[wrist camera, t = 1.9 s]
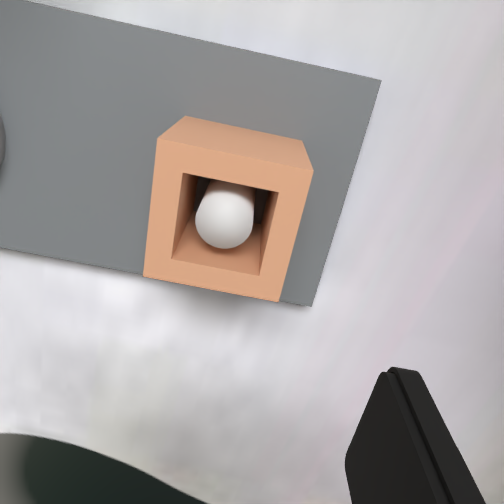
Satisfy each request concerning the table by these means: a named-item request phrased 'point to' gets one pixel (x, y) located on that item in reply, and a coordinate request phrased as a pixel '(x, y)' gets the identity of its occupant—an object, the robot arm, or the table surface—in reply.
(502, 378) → the table surface
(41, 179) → the hub board
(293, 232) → the collar
